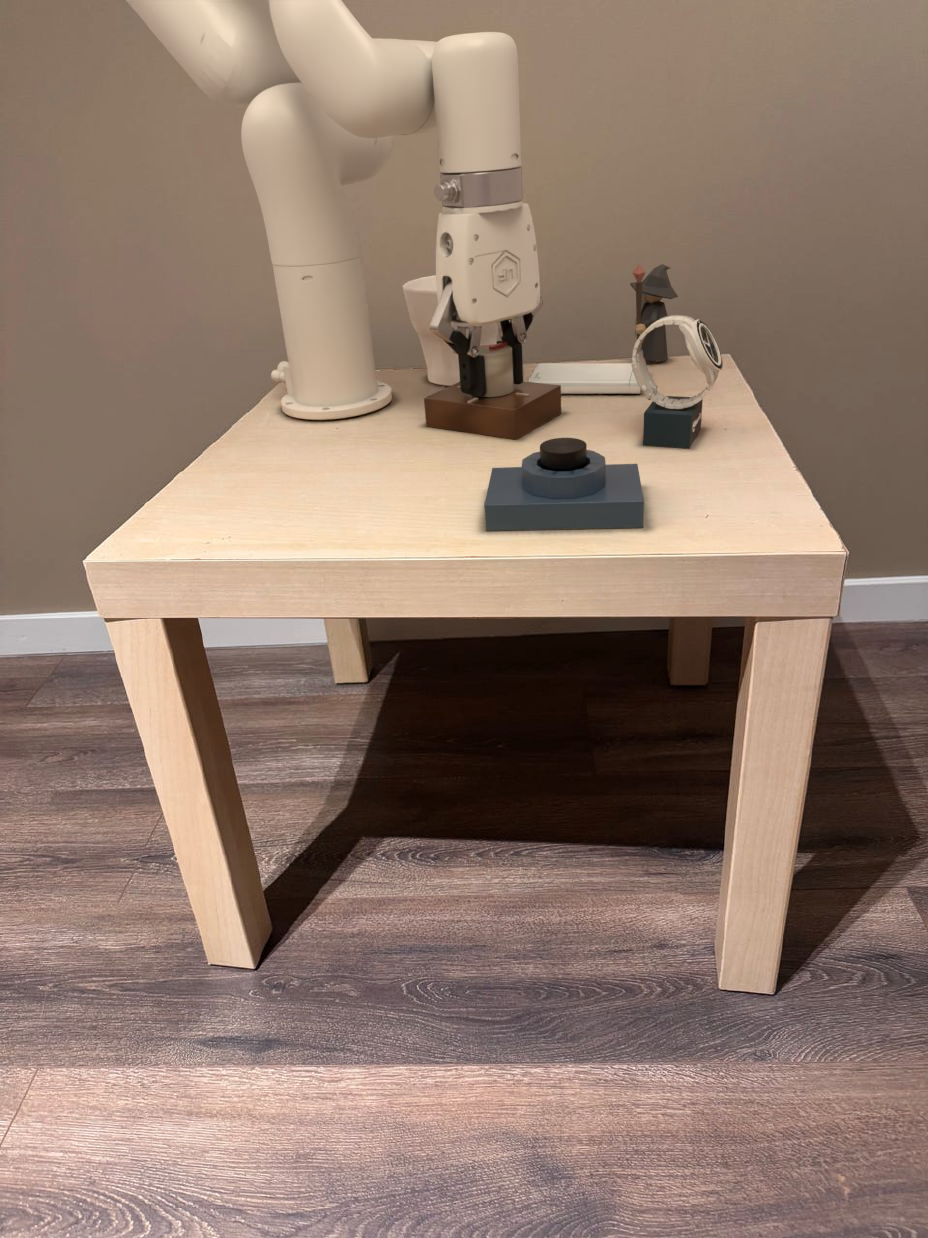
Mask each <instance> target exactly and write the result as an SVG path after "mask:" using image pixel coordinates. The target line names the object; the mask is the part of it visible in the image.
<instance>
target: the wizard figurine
mask: <svg viewBox="0 0 928 1238" xmlns="http://www.w3.org/2000/svg"><path fill="white" fill-rule="evenodd" d="M670 269H671V267H670V266H668V265H665V264H664V263H663V264H659V265H657V266H655V267H654V268H652V270H651V271H650V272H649V273H648V274H647V275H646V276H645V274H646V271H645V269H644V268H643V267H642V265H641V264H640V263H638V264H637V266H636V267H635V269H634V270H633V271H632V275H633V277H634V279H635V280H636V282H630V287H631V288H632V289H633V290H634V291H635V306H636V307H635V311H636V312H635V313H636V316H635V322H634V338H636V341H637V340H638V338H639V337H640V335H641V334H642V333H643V332H644V331H645V330H646V329H647V328H648V327H649V326H650V325H652V324H653V323H654V322H656V321H657V320H659V319H661V318H664V317H667V316H668V312H667V309H666V304H665V302H664V301H661V300H663V299H667V300H673V299H676V298H678V297H679V295H678V294H677V292H676V291H675V289H674V288H673V286H672V284H671V281H670V278H669V275H668V272H667V270H670ZM644 277H645V278H644ZM641 350H643V357H644V359H645V362H646V365H653V364H654V365H655V364H657V362H664V361H666V360H668V359H669V357H668V355H669V354H668V341H667V331H666V325H663V326H659V327H657V328H654V329H653V330H651V331H650V332H649V333H648V334H647V335H646V336H645V338H644V340H643V343H642V346H641Z"/></svg>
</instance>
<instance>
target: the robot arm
mask: <svg viewBox="0 0 928 1238" xmlns="http://www.w3.org/2000/svg"><path fill="white" fill-rule="evenodd" d="M125 2H127V3H128V5H129V6H130V7H131V9H133V10H134V12H135V13H136V14H137V15H138V16H139V17H140V18H141V20H142V21H143V22H144V24H145V25H146V27H148V28H149V30H150V31H151V32H152V33H153V35H154V36H155V37H156V39H158V41H159V42H160V43H161V44H162V45H163V47H164V48H165V49H166V50H167V51H168V52H169V54H170V55H171V56H172V57H173V58H174V59H175V61H176V62H177V63H178V64H179V65H180V67H181V68H182V69H183V70H184V71H185V73H186V74H187V75H188V76H189V77H190V79H191V80H192V81H193V82H194V84H195V85H196V86H197V87H198V88H199V89H200V90H201V91H202V92H203V93H204V94H205V95H206V96H207V98H209V99H210V100H211V101H213V102H215V103H217V104H219V105H221V106H225V107H230V108H245V109H246V110H245V112H244V114H243V118H242V121H241V129H240V141H241V147H242V153H243V157H244V161H245V164H246V167H247V170H248V173H249V176H250V178H251V181H252V184H253V187H254V190H255V193H256V196H257V198H258V202H259V207H260V210H261V214H262V219H263V223H264V228H265V233H266V238H267V245H268V250H269V255H270V260H271V264H272V272H273V276H274V277H273V278H274V283H275V290H276V296H277V301H278V308H279V313H280V319H281V327H282V331H283V339H284V343H285V344H284V345H285V350H286V357H287V360H282V361H280V362H279V363H278V365H277V368H276V369H273V370H272V371H271V374H270V379H271V380H272V381H273V382H275V383H282V384H283V383H285V387H286V394H285V395H283V396H282V398H281V399H280V405H281V411H282V412H283V413H284V414H285V415H287V416H289V417H292V418H295V419H300V420H311V421H328V420H337V419H338V420H339V419H347V418H352V417H357V416H362V415H366V414H369V413H372V412H376V411H377V410H380V409H382V408H385V407H386V406H388V404H390V402H392V400H393V390H392V388H391V386H390V385H388V384H387V383H384V382H382V381H378V380H377V373H376V372H377V370H376V364H375V363H376V362H375V354H374V353H375V352H374V345H373V337H372V328H371V327H372V326H371V319H370V311H369V302H368V294H367V285H366V276H365V268H364V261H363V254H362V246H361V238H360V237H361V236H360V233H359V227H358V224H357V219H356V217H355V214H354V212H353V210H352V207H351V205H350V202H349V200H348V198H347V195H346V193H345V191H344V189H343V187H342V186H346V185H353V184H356V183H360V182H361V183H362V182H364V181H367V180H369V179H371V178H374V177H375V176H377V175H378V174H379V173H380V172H381V171H382V170H383V169H384V168H385V167H386V165H387V164H388V162H389V160H390V158H391V155H392V151H393V144H394V136H408V135H418V134H425V133H429V132H433V131H436V140H437V141H436V142H437V153H438V166H439V169H438V170H439V180H440V184H439V183H438V184H436V185H435V187H434V191H433V193H434V197H435V198H436V200H437V201H439V202H440V201H441V205H442V206H441V207H442V212H439V213H438V218H437V228H436V238H435V239H436V243H435V275H436V286H437V300H438V305H437V308H436V310H435V313H434V315H433V318H432V320H431V323H430V326H429V329H430V331H431V332H432V333H434V334H435V335H437V336H438V337H440V338H441V339H443V340H444V341H445V342H446V343H447V344H448V345H449V346H450V347H451V348H452V351H453V353H454V354H458V359H459V373H460V386H461V391H462V392H463V393H466V394H470V395H474V396H478V397H482V396H484V395H485V394H486V376H485V359H484V356H482V355H478V354H479V350H480V341H481V332H482V326H484V325H488V324H492V323H496V322H497V325H498V335H499V338H500V340H497V342H496V343H497V344H498V343H502V342H507V343H508V345H507V346H510V347H512V356H513V380H514V384H517V385H518V384H521V383H523V381H524V366H523V365H524V364H523V363H524V361H523V344H525V343H526V341H527V338H528V334H527V332H528V330H529V328H530V326H531V325H532V323H533V319H534V317H535V316H536V315H537V313H538V312H539V311H540V309H541V308H542V307H543V305H544V300H543V298H542V295H541V280H540V279H541V278H540V277H541V276H540V265H539V253H538V245H537V237H536V231H535V226H534V225H535V224H534V220H533V216H532V212H531V208H530V205H529V203H525V202H524V197H523V196H524V195H523V193H524V192H523V167H522V164H523V163H522V138H521V137H522V135H521V108H520V107H521V105H520V104H521V103H520V74H519V73H520V72H519V53H518V48H517V45H516V42H515V40H514V39H513V38H512V36H511V35H509V34H507V33H504V32H501V31H500V32H499V31H479V32H468V33H459V34H453V35H449V36H445V37H443V38H441V39H439V40H438V41H431V40H430V41H429V40H418V39H401V38H380V37H375V38H373V37H371V35H370V34H369V33H368V32H367V30H365V29H364V27H363V26H362V25H361V24H360V22H359V21H358V20H357V19H356V17H355V16H354V15H353V13H352V12H351V11H350V10H349V8H348V7H347V6H346V4H345V3H344V1H343V0H125ZM451 322H454V328H453V327H452V326H451ZM466 328H468V329H469V335H468V339H467V338H466Z"/></svg>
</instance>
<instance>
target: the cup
mask: <svg viewBox="0 0 928 1238" xmlns="http://www.w3.org/2000/svg"><path fill="white" fill-rule="evenodd" d="M401 287H402V291H403V296H404V299H405V304H406V308H407V312H408V316H409V321H410V322H411V325H412V326H413V329H414V330H415V332H416V335H418V339H419V342H420V346H421V350H422V353H423V358H424V362H425V366H426V375H427V380H428V382H429V383H431V384H433V385H438V386H443V387H444V386H445V387H449V386H451V385H453V384H456V383H458V382H460V373H459V359H458V354H454V353H453V351H452V348H451V347H450V346H449V345H448V344H447V343H446V342H445V341H444V340H443V339H441V338H440V337H438V336H437V335H435V334H434V333H432V332H431V331H430V329H429V326H430V323H431V320H432V318H433V315H434V313H435V310H436V308H437V305H438V300H437V286H436V274H435V275H429V276H422V277H419V278H414V279H412V280H408V281H406V283H403V284H402V286H401ZM451 326H452V327H453V328H454V322H451ZM468 335H469V329H468V328H466V338H467V339H468ZM498 335H499V330H498V325H497V322H496V323H492V324H488V325H484V326H482V332H481V341H480V346H482V345H492V344H497V343H496V342H497V341H498Z"/></svg>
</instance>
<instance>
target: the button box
mask: <svg viewBox="0 0 928 1238" xmlns="http://www.w3.org/2000/svg"><path fill="white" fill-rule="evenodd" d="M638 464H639V463H616V464H615V463H610V464H607V463H606V457H605V456H603V455H602V454H600V453H598V452H596V451H595V450H591V449H587V466H586V467H584V468H582V469H578V470H574V471H558V472H556V471H550V470H544V469H542V468H541V467H540V451H536V452H532V453H531V454H529V455H527V456H526V457H524V458H522V460H521V466H513V467H512V466H510V467H509V466H507V467H506V466H505V467H492V468H491V472H490V476H489V482H488V485H487V491H486V496H485V500H484V505H483V506H484V507H483V508H484V522H485V531H486V532H493V531H494V532H497V531H498V532H499V531H545V530H547V531H549V530H551V531H552V530H553V531H554V530H593V529H594V530H596V529H643V528H644V517H645V514H644V513H645V499H644V493H643V488H642V481H641V476H640V469H639V465H638Z"/></svg>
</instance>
